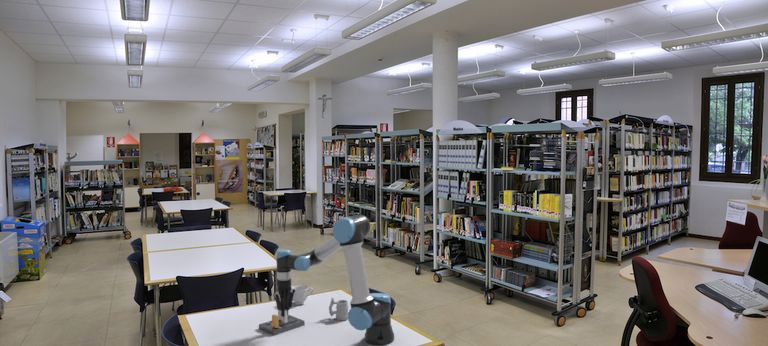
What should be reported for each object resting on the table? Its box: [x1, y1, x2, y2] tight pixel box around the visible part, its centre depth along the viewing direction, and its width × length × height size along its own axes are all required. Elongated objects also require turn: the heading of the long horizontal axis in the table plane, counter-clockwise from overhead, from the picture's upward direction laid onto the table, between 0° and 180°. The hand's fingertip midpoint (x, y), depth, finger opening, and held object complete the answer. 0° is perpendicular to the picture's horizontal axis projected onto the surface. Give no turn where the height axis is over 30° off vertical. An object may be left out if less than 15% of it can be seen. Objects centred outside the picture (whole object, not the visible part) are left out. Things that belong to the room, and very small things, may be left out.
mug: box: [328, 297, 350, 322], centre depth 270 cm, size 8×12×12 cm, turn 83°
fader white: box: [277, 309, 282, 321], centre depth 261 cm, size 4×2×6 cm, turn 47°
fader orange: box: [271, 313, 279, 328], centre depth 250 cm, size 4×2×6 cm, turn 47°
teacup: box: [291, 284, 314, 306], centre depth 297 cm, size 12×15×10 cm
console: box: [258, 314, 305, 337], centre depth 257 cm, size 14×20×3 cm
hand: (284, 321), depth 254 cm, fingers closed
